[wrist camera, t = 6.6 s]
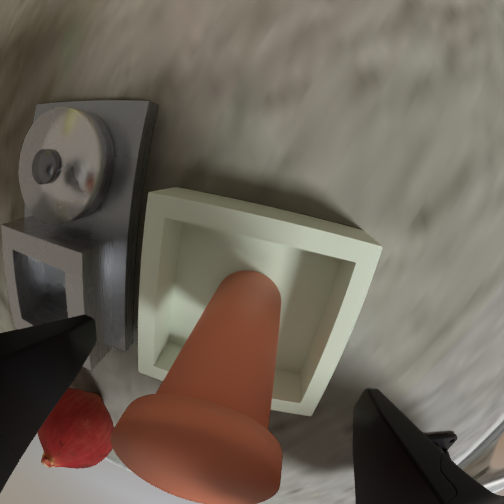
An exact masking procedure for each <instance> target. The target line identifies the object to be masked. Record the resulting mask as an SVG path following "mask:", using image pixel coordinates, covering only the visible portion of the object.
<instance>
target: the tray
mask: <svg viewBox="0 0 504 504" xmlns="http://www.w3.org/2000/svg"><path fill="white" fill-rule="evenodd" d="M382 248H383V246H381V245H380V244H379V243H378V242H377V241H376V240H374V239H373V238H372V237H371V236H370V235H368V234H367V233H366V232H365V231H364V230H360V229H357V228H353V227H349V226H345V225H342V224H338V223H334V222H330V221H326V220H323V219H319V218H315V217H311V216H307V215H303V214H299V213H294V212H290V211H286V210H282V209H278V208H273V207H269V206H265V205H260V204H256V203H251V202H247V201H242V200H238V199H233V198H229V197H224V196H219V195H214V194H209V193H204V192H199V191H194V190H189V189H184V188H179V187H173V188H168V189H163V190H157V191H152V192H149V193H148V200H147V207H146V216H145V224H144V234H143V244H142V255H141V268H140V285H139V309H138V370H139V373H142V374H145V375H147V376H150V377H153V378H156V379H158V380H161V381H163V380H164V379H165V377H166V375H167V373H168V372H169V370H170V368H171V366H172V365H173V363H174V361H175V360H176V358H177V356H178V354H179V353H180V351H181V349H182V348H183V346H184V344H185V342H186V341H187V339H188V337H189V336H190V334H191V332H192V330H193V329H194V327H195V325H196V324H197V322H198V320H199V318H200V317H201V315H202V313H203V312H204V310H205V308H206V307H207V305H208V303H209V302H210V300H211V298H212V296H213V295H214V293H215V291H216V290H217V288H218V286H219V285H220V283H221V282H222V281H223V279H225V278H226V277H227V276H228V275H230V274H232V273H234V272H237V271H244V270H249V271H255V272H259V273H261V274H263V275H265V276H267V277H268V278H269V279H271V280H272V281H273V282H274V283H275V285H276V286H277V288H278V290H279V292H280V295H281V314H280V325H279V336H278V346H277V356H276V366H275V375H274V385H273V394H272V402H271V410H275V411H281V412H286V413H293V414H299V415H306V416H312V414H313V412H314V410H315V408H316V407H317V405H318V403H319V401H320V399H321V397H322V395H323V393H324V391H325V389H326V387H327V385H328V383H329V381H330V379H331V377H332V375H333V373H334V371H335V368H336V366H337V364H338V362H339V360H340V358H341V355H342V353H343V351H344V349H345V346H346V344H347V342H348V340H349V337H350V335H351V333H352V330H353V328H354V325H355V323H356V320H357V318H358V315H359V313H360V310H361V308H362V305H363V303H364V300H365V297H366V295H367V292H368V289H369V286H370V284H371V281H372V278H373V275H374V272H375V269H376V266H377V263H378V260H379V257H380V254H381V251H382Z"/></svg>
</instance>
